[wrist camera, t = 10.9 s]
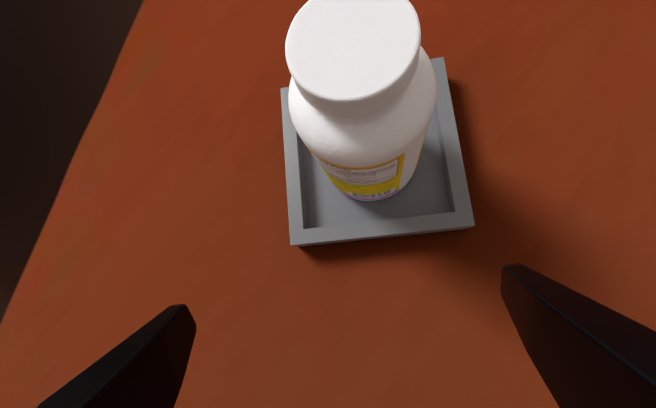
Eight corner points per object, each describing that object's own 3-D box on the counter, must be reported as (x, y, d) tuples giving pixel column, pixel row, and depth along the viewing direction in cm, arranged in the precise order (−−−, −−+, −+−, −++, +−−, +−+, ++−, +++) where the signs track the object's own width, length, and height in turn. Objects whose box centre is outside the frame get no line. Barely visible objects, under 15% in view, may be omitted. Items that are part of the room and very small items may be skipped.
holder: (467, 229, 21) (475, 225, 20) (298, 246, 23) (290, 245, 21) (438, 73, 24) (443, 56, 22) (288, 101, 26) (280, 88, 24)
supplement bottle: (368, 100, 24) (349, -78, 11) (436, 154, 22) (501, 16, 10) (307, 163, 24) (222, 53, 11) (371, 222, 22) (353, 170, 10)
